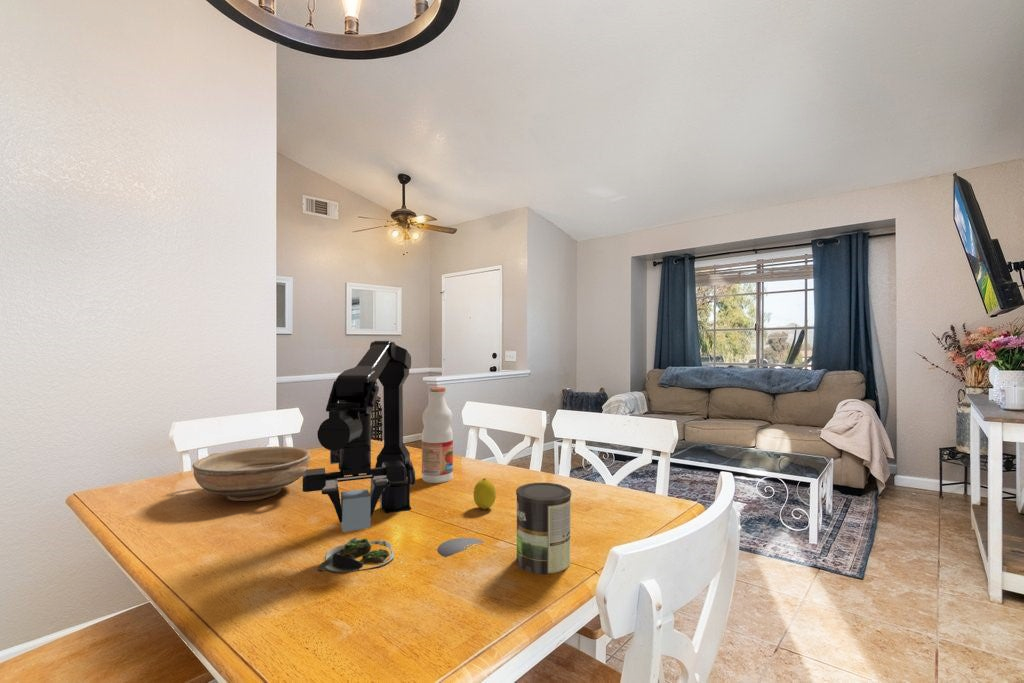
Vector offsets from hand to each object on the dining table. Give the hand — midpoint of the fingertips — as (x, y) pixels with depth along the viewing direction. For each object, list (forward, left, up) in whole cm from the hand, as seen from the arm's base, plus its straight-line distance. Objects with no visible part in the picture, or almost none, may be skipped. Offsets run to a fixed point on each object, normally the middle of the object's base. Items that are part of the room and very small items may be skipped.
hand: (355, 519), depth 92 cm
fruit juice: (-28, -46, -8) cm, 54 cm away
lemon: (-32, -15, -8) cm, 36 cm away
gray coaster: (-20, +5, -8) cm, 22 cm away
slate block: (0, 0, -1) cm, 1 cm away
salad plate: (0, -1, -8) cm, 8 cm away
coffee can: (-32, +17, -8) cm, 37 cm away
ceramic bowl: (+22, -53, -8) cm, 58 cm away
